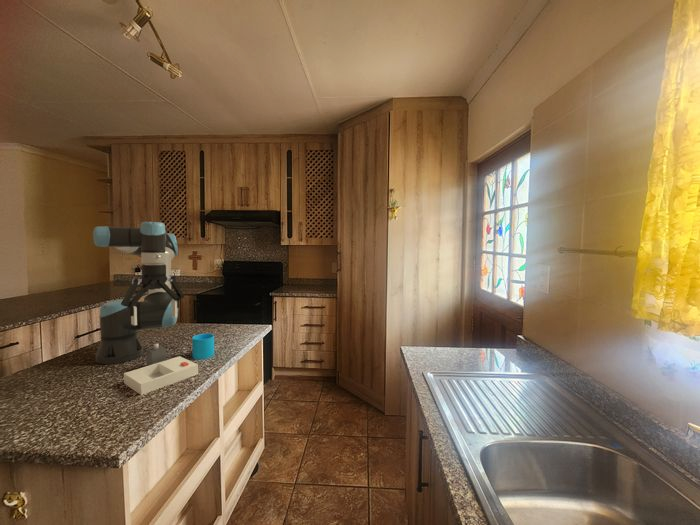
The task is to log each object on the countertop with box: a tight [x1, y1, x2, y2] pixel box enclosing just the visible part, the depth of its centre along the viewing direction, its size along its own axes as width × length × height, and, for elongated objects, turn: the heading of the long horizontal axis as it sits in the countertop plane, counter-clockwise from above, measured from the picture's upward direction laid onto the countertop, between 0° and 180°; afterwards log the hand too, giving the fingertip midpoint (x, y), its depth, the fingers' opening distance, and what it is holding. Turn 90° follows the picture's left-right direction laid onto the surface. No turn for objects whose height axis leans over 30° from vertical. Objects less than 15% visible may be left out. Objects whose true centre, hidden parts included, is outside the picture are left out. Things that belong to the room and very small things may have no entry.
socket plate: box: [123, 355, 199, 396], centre depth 101 cm, size 13×18×4 cm
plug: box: [145, 343, 167, 367], centre depth 110 cm, size 5×5×9 cm
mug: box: [191, 333, 215, 360], centre depth 124 cm, size 12×8×8 cm
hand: (155, 320), depth 109 cm, fingers open, 13 cm apart
